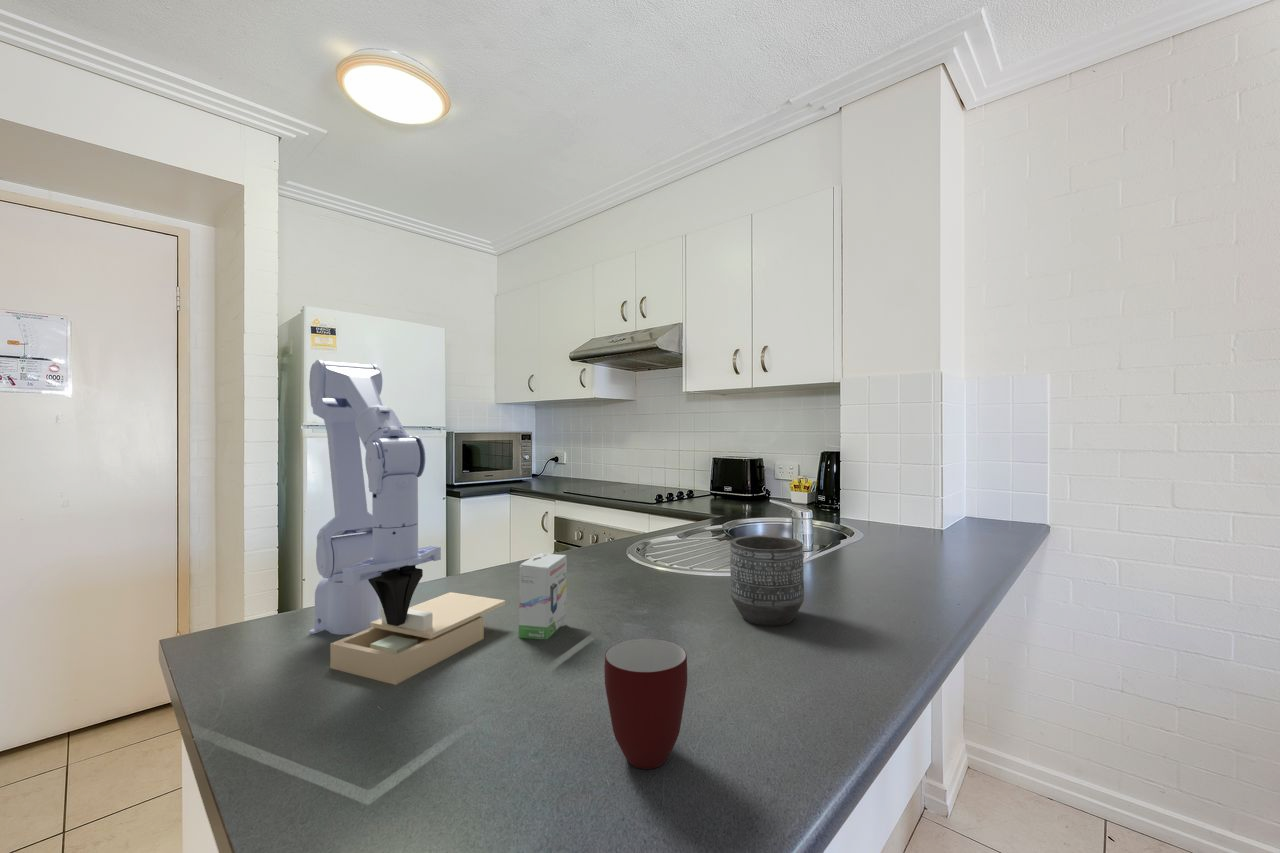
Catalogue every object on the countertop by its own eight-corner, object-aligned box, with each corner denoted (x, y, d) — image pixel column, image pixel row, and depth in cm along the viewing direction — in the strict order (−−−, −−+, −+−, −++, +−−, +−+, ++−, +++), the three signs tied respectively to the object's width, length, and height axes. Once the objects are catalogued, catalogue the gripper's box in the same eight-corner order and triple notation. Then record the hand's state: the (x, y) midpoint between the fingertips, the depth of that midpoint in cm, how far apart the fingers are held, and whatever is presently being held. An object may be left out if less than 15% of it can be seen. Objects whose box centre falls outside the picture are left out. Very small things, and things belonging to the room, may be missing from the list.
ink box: (538, 623, 89) (538, 552, 89) (568, 624, 88) (567, 553, 88) (516, 643, 81) (516, 564, 81) (549, 645, 80) (548, 566, 80)
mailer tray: (330, 673, 71) (330, 643, 71) (424, 632, 85) (424, 607, 85) (395, 691, 66) (395, 658, 66) (483, 643, 80) (483, 617, 80)
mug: (592, 728, 57) (591, 635, 57) (663, 716, 59) (662, 626, 60) (617, 792, 47) (616, 678, 47) (701, 773, 49) (700, 665, 49)
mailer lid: (369, 626, 76) (369, 608, 76) (450, 595, 90) (450, 580, 90) (430, 638, 71) (430, 619, 71) (505, 604, 86) (505, 587, 86)
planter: (812, 612, 93) (811, 539, 93) (792, 635, 82) (790, 553, 82) (746, 601, 99) (745, 532, 99) (719, 621, 89) (718, 544, 89)
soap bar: (370, 662, 72) (370, 643, 72) (391, 652, 76) (391, 634, 76) (397, 668, 70) (396, 649, 70) (418, 658, 73) (417, 640, 74)
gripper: (369, 536, 65) (370, 647, 65) (456, 518, 78) (456, 611, 78) (331, 532, 68) (331, 639, 68) (420, 515, 81) (421, 605, 81)
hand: (396, 623), depth 73 cm, fingers closed
